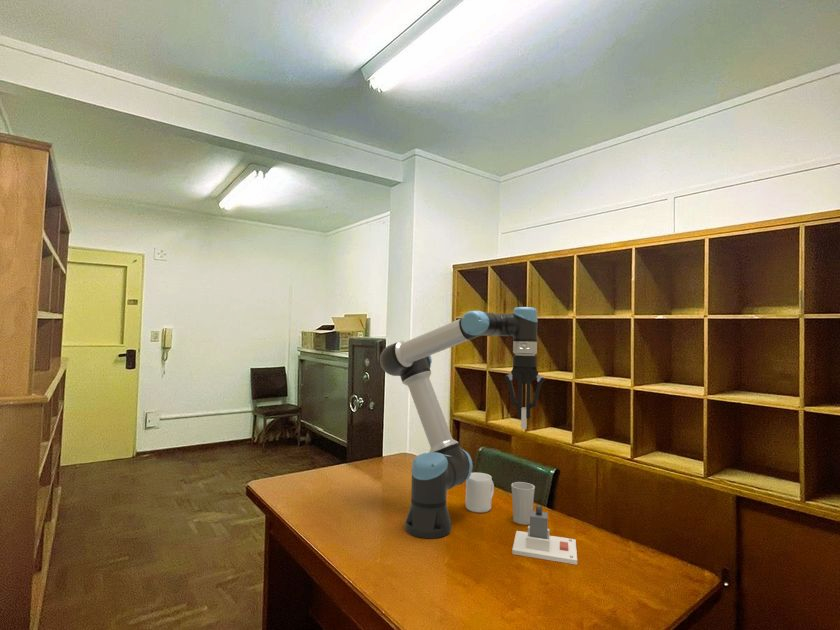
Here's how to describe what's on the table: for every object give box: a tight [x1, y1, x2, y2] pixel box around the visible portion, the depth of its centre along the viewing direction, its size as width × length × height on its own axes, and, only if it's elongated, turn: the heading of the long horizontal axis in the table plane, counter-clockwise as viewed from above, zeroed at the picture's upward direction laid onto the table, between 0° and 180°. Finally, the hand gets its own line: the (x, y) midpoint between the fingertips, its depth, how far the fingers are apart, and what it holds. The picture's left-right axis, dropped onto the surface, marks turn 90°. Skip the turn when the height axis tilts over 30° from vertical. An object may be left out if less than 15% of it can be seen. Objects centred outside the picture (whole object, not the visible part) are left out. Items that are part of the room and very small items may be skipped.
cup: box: [510, 481, 536, 525], centre depth 156 cm, size 8×8×12 cm
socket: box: [511, 525, 578, 566], centre depth 135 cm, size 18×14×4 cm
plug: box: [529, 504, 549, 539], centre depth 136 cm, size 5×5×12 cm
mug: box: [465, 472, 495, 514], centre depth 167 cm, size 10×12×12 cm
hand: (523, 428), depth 144 cm, fingers closed
